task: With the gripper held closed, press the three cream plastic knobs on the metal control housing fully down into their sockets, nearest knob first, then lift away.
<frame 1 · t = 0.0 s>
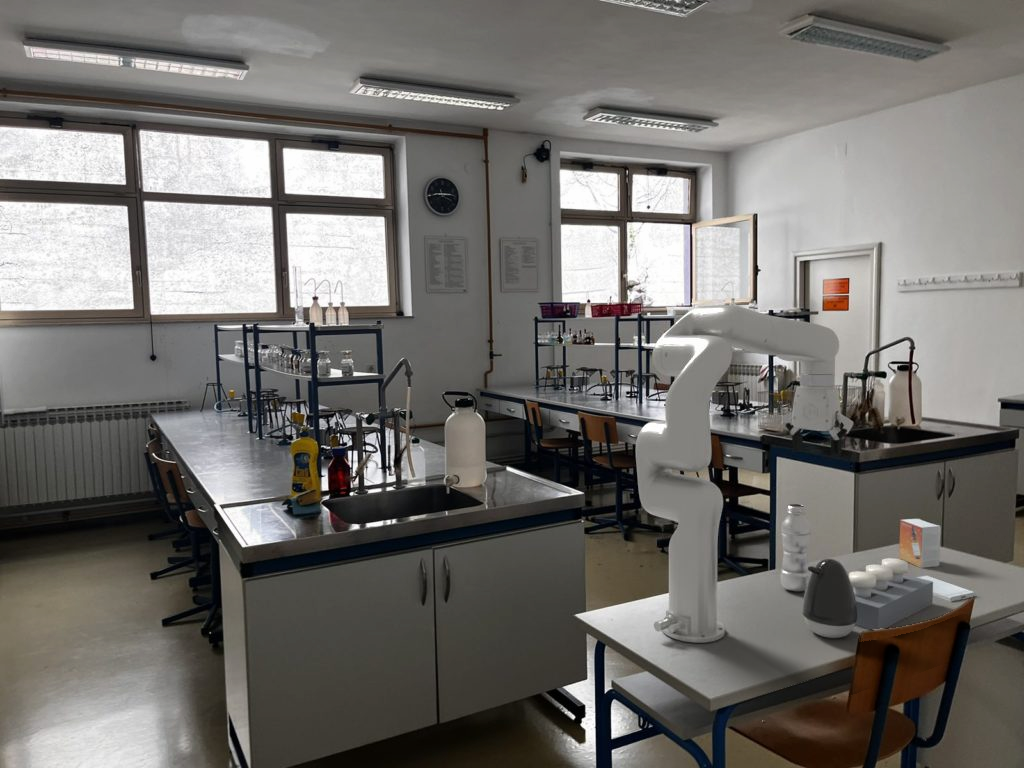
hand: (816, 453, 179), 31 cm above the table, tool pointing down, fingers open, 9 cm apart
knob near: (862, 588, 159), point 6 cm above the table, slide at 0.0 cm
dark grey penguin figure: (828, 634, 152), on the table
housing: (878, 609, 164), on the table
knob mid: (878, 581, 163), point 6 cm above the table, slide at 0.0 cm
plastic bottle: (795, 590, 176), on the table
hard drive: (938, 593, 175), on the table
knob far: (894, 574, 168), point 6 cm above the table, slide at 0.0 cm
small box: (918, 563, 195), on the table
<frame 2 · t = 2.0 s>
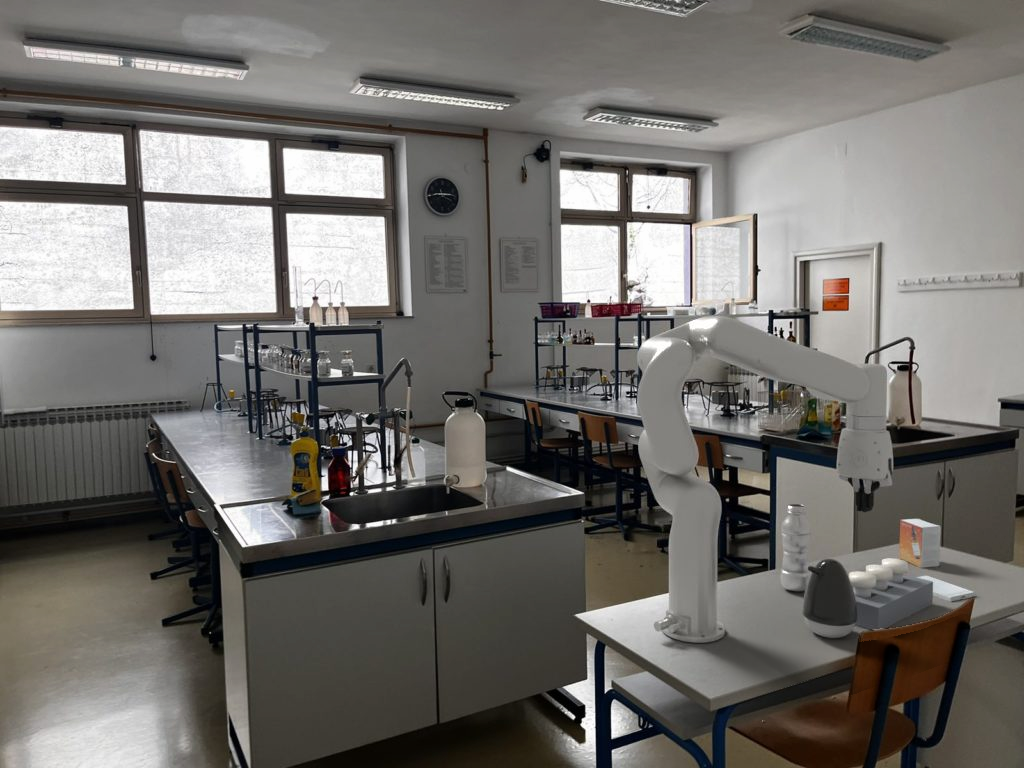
hand: (864, 510, 158), 23 cm above the table, tool pointing down, fingers closed
nothing on the table moved.
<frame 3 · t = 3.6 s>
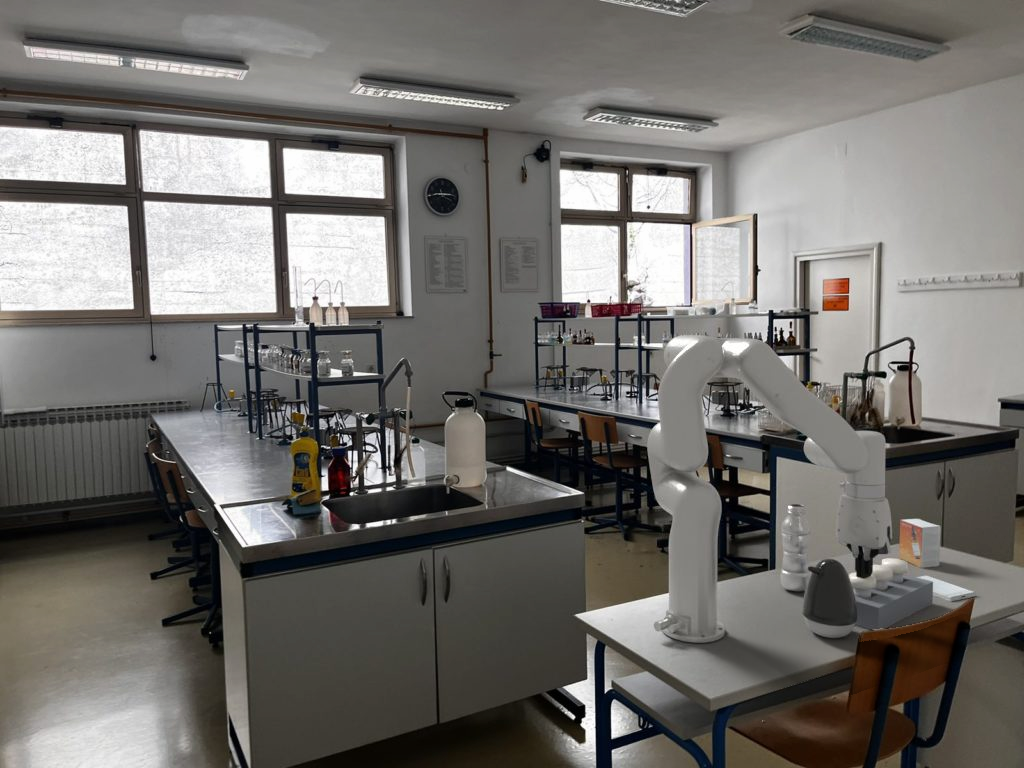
hand: (863, 576, 159), 9 cm above the table, tool pointing down, fingers closed
knob near: (862, 589, 159), point 6 cm above the table, slide at 0.2 cm, touching gripper
everything else where it was.
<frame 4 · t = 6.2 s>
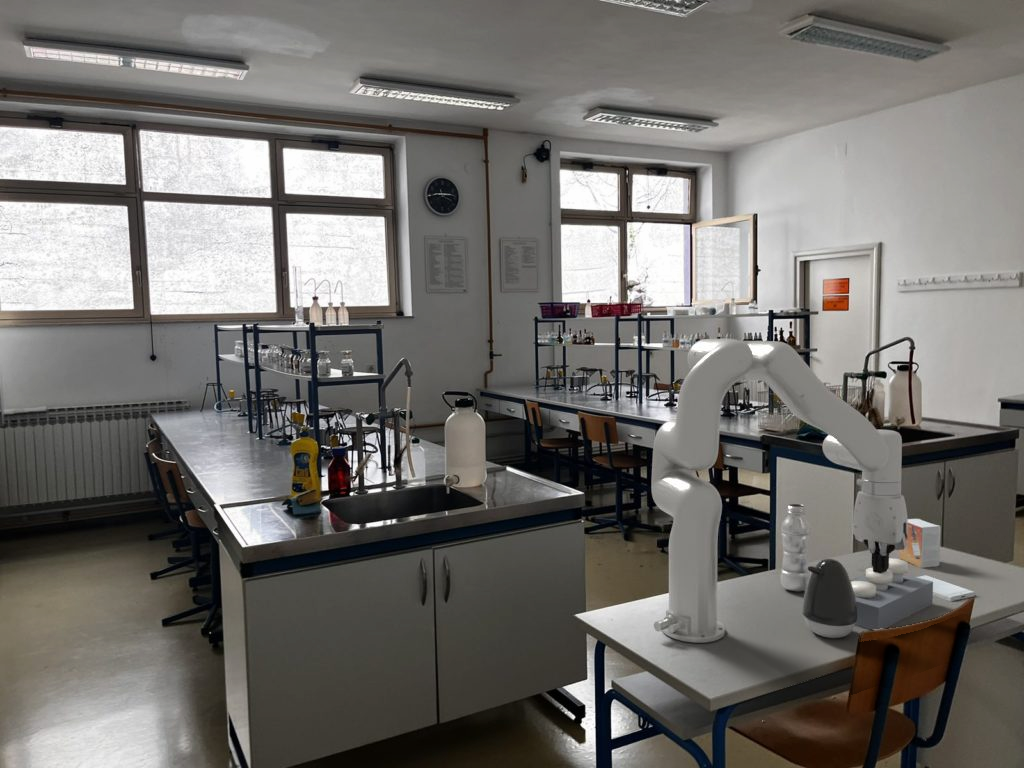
hand: (880, 571, 163), 8 cm above the table, tool pointing down, fingers closed
knob near: (862, 598, 159), point 4 cm above the table, slide at 2.1 cm
knob mid: (878, 584, 163), point 5 cm above the table, slide at 0.7 cm, touching gripper
everything else where it was.
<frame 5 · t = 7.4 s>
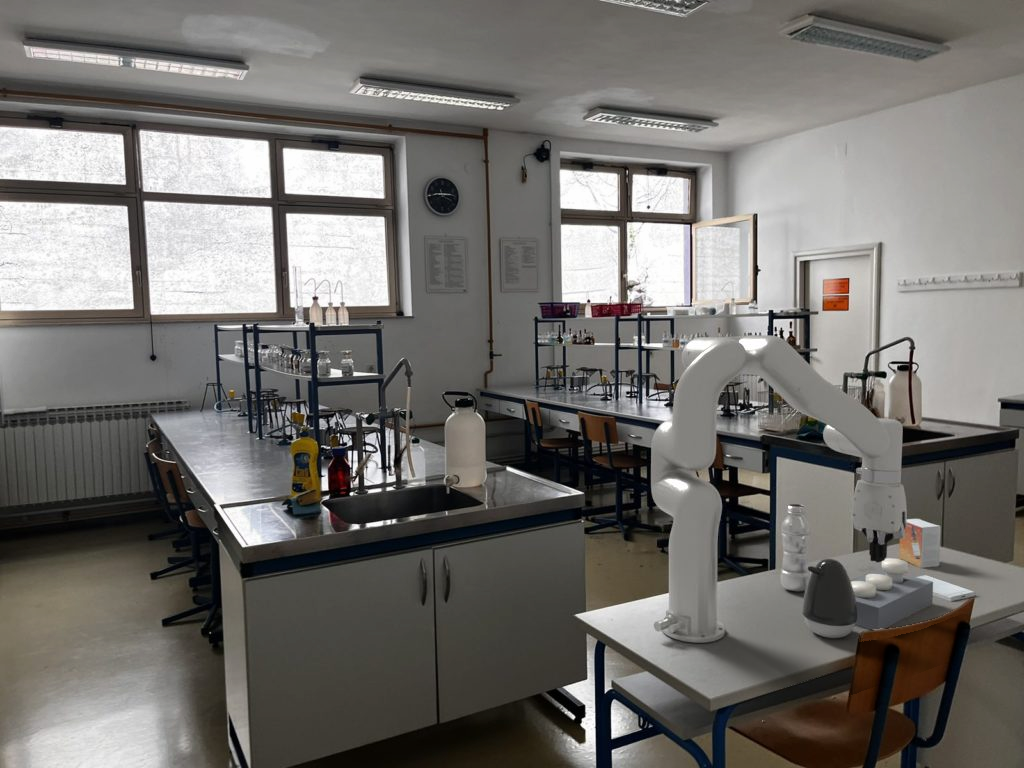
hand: (877, 560, 163), 11 cm above the table, tool pointing down, fingers closed
knob mid: (878, 590, 164), point 4 cm above the table, slide at 2.1 cm
everything else where it was.
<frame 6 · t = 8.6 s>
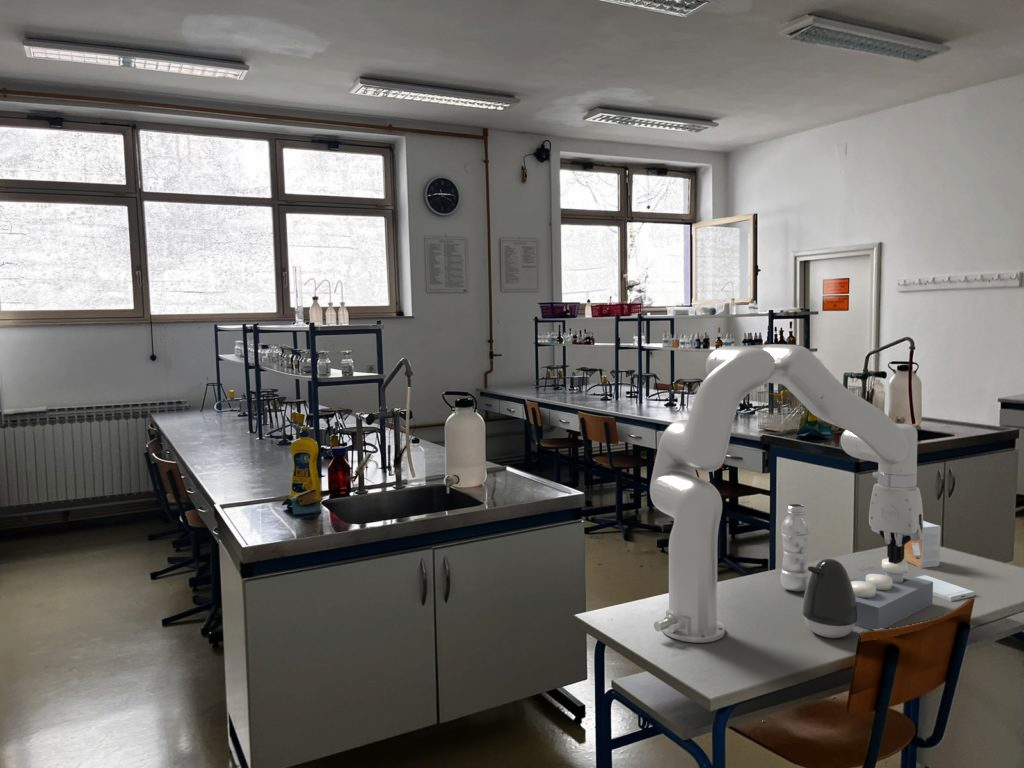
hand: (895, 561, 167), 9 cm above the table, tool pointing down, fingers closed
knob far: (894, 574, 168), point 6 cm above the table, slide at 0.0 cm, touching gripper
everything else where it was.
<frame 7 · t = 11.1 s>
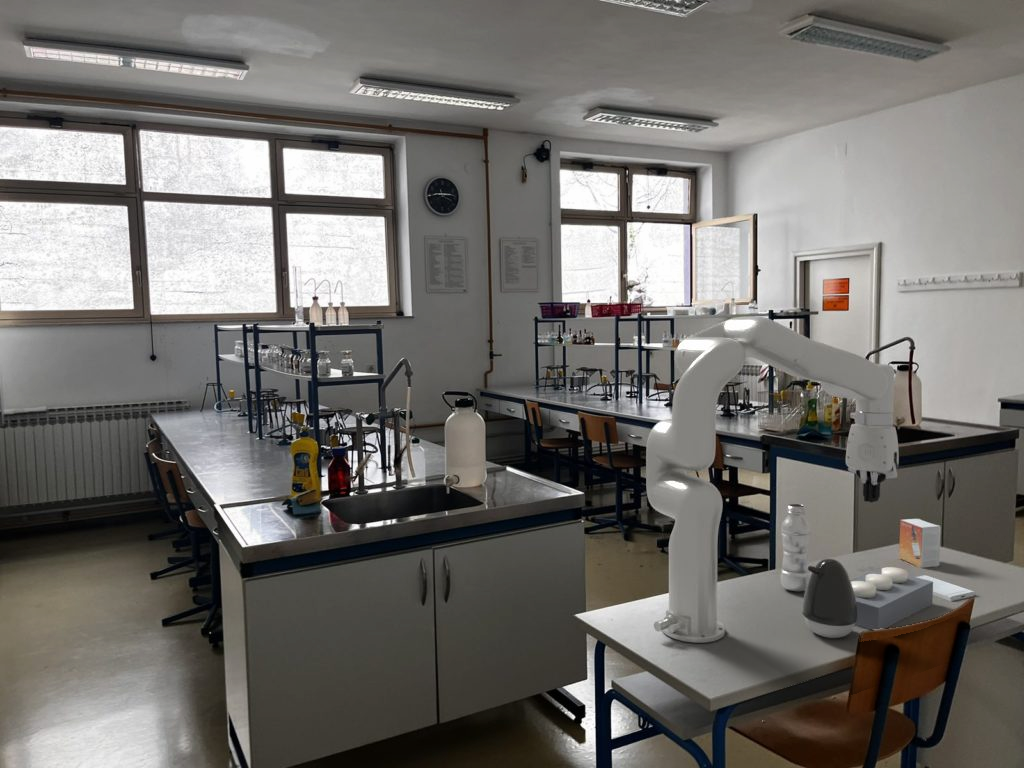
hand: (871, 500, 169), 22 cm above the table, tool pointing down, fingers closed
knob far: (894, 583, 168), point 4 cm above the table, slide at 2.1 cm
everything else where it was.
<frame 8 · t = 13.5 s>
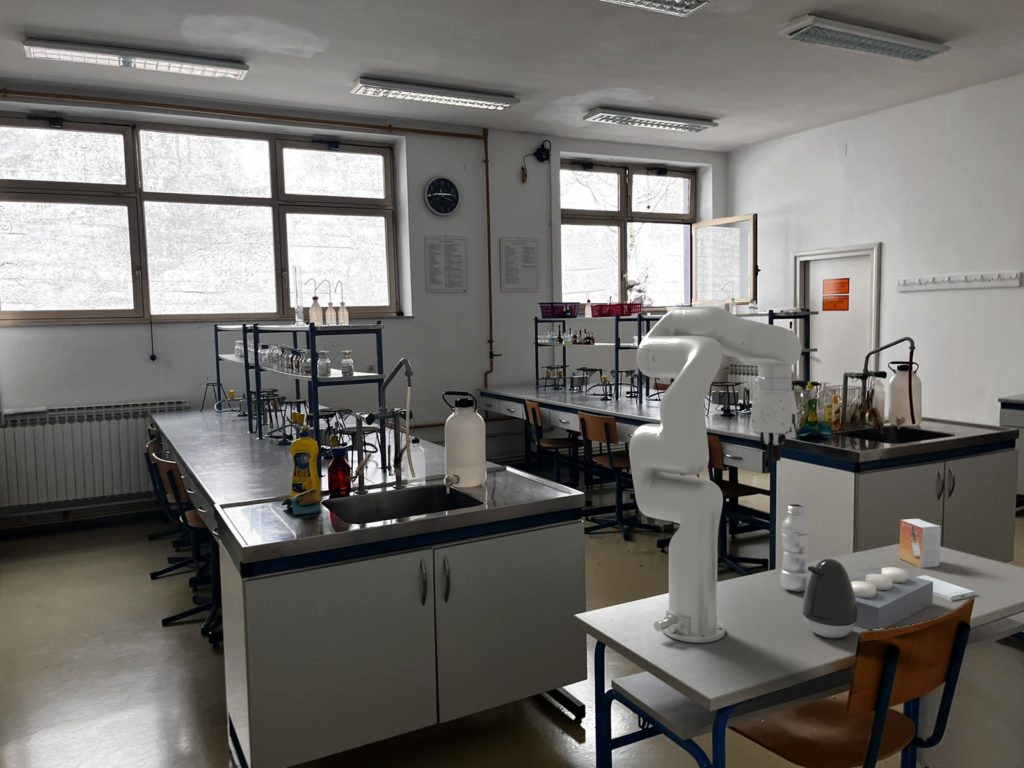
hand: (773, 460, 182), 29 cm above the table, tool pointing down, fingers closed
nothing on the table moved.
at the end: knob near slide at 2.1 cm; knob mid slide at 2.1 cm; knob far slide at 2.1 cm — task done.
